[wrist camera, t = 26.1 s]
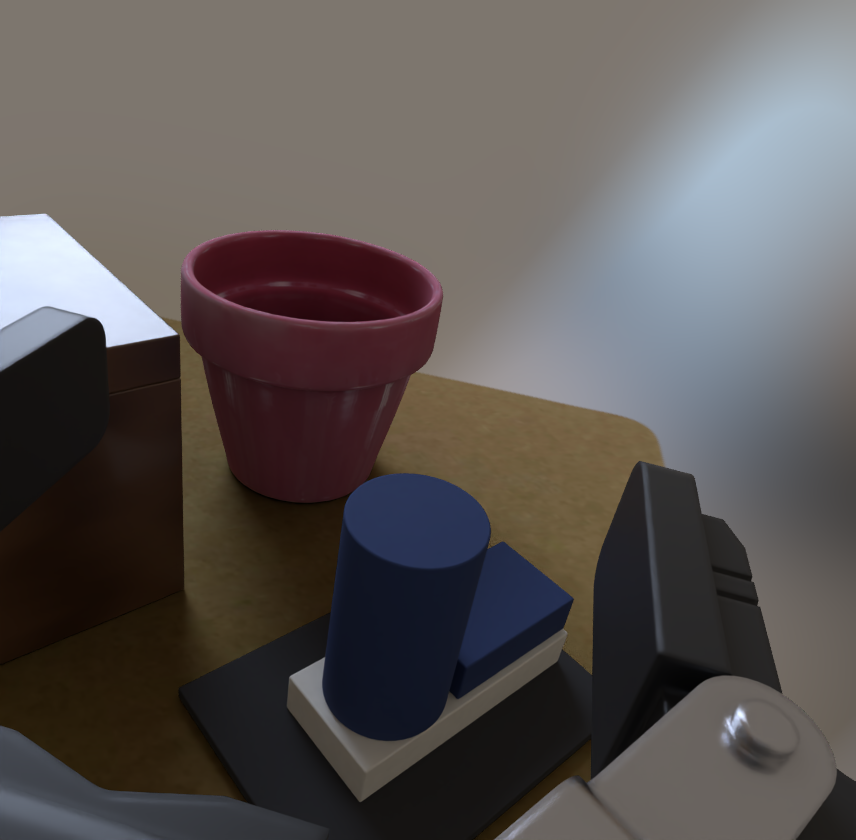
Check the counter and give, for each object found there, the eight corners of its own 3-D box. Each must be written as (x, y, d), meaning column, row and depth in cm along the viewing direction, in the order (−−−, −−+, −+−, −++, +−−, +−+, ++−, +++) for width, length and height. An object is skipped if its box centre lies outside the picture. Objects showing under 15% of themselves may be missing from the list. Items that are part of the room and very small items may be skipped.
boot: (359, 803, 28) (399, 597, 23) (285, 707, 31) (304, 503, 26) (558, 661, 36) (625, 479, 30) (483, 594, 39) (531, 417, 33)
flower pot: (324, 383, 56) (340, 216, 49) (455, 480, 48) (496, 297, 41) (141, 437, 47) (131, 240, 40) (267, 568, 39) (281, 350, 32)
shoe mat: (343, 950, 25) (345, 942, 24) (178, 696, 32) (177, 687, 31) (622, 712, 35) (625, 704, 34) (449, 559, 42) (451, 551, 41)
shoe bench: (-46, 684, 30) (-124, 390, 23) (-126, 487, 39) (-201, 229, 32) (184, 589, 37) (180, 334, 29) (71, 438, 45) (47, 212, 38)
